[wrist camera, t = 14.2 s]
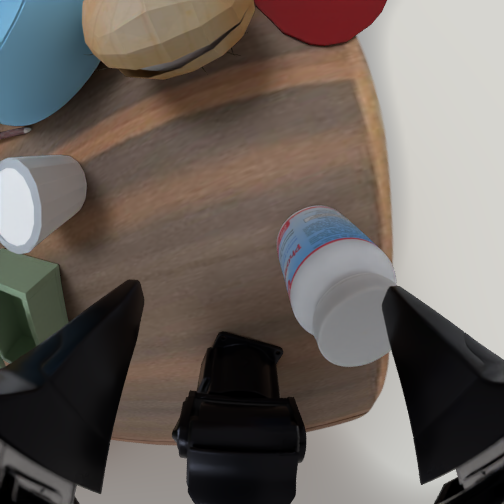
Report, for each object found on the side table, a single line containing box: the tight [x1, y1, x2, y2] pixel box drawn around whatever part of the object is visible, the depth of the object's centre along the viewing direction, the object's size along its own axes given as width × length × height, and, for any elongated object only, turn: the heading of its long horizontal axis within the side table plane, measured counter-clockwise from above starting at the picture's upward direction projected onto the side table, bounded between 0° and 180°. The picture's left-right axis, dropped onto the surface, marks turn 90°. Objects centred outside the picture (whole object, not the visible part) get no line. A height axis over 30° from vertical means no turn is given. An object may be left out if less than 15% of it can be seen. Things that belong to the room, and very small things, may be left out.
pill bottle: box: [277, 205, 397, 367], centre depth 16 cm, size 6×6×11 cm
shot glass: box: [0, 155, 87, 255], centre depth 16 cm, size 7×7×7 cm
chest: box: [0, 248, 68, 363], centre depth 21 cm, size 10×13×6 cm
